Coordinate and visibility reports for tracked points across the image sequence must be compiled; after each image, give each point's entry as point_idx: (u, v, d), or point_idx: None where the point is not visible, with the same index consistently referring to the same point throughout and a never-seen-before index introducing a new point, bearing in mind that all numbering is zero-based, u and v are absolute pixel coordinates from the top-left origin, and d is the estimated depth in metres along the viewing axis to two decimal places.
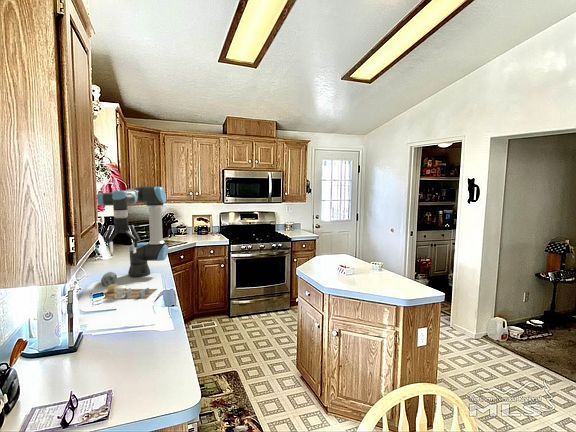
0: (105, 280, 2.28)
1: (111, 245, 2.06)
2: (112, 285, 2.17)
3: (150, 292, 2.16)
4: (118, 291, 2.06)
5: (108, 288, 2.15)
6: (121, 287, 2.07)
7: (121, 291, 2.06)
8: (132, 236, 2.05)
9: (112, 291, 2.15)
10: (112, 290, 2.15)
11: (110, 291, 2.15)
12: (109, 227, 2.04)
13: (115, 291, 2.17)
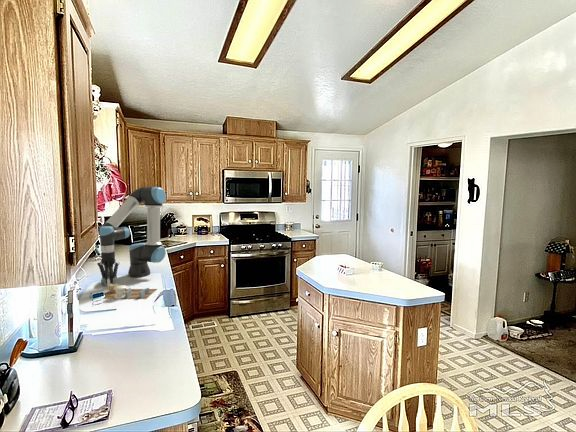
0: (105, 280, 2.28)
1: None
2: (114, 285, 2.17)
3: (150, 292, 2.16)
4: (118, 291, 2.06)
5: (110, 288, 2.15)
6: (121, 287, 2.07)
7: (121, 291, 2.06)
8: (111, 273, 2.16)
9: (114, 291, 2.15)
10: (114, 290, 2.15)
11: (112, 291, 2.15)
12: (98, 264, 2.15)
13: None
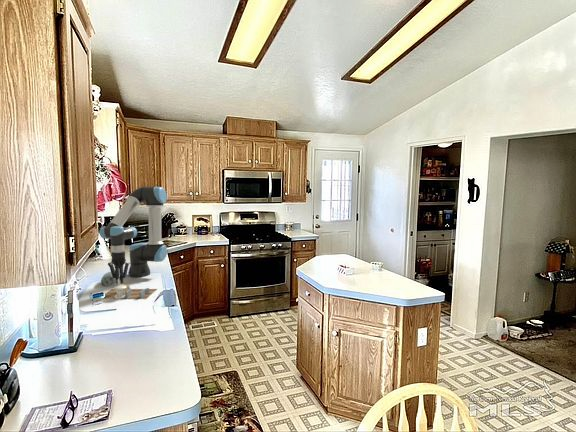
0: (105, 280, 2.28)
1: None
2: None
3: (150, 292, 2.16)
4: (118, 291, 2.06)
5: None
6: (121, 287, 2.07)
7: (121, 291, 2.06)
8: (122, 273, 2.16)
9: None
10: None
11: None
12: (108, 264, 2.15)
13: None
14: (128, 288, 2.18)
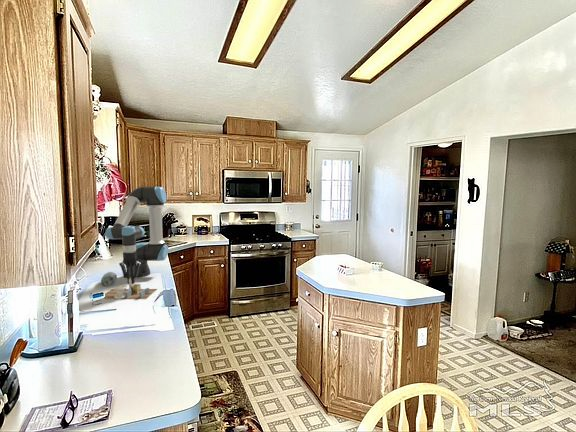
0: (105, 280, 2.28)
1: None
2: (135, 285, 2.17)
3: (150, 292, 2.16)
4: (118, 291, 2.06)
5: (131, 288, 2.15)
6: (121, 287, 2.07)
7: (121, 291, 2.06)
8: (133, 273, 2.16)
9: (135, 291, 2.15)
10: (135, 290, 2.15)
11: (133, 291, 2.15)
12: (120, 264, 2.14)
13: (138, 291, 2.17)
14: (139, 288, 2.18)
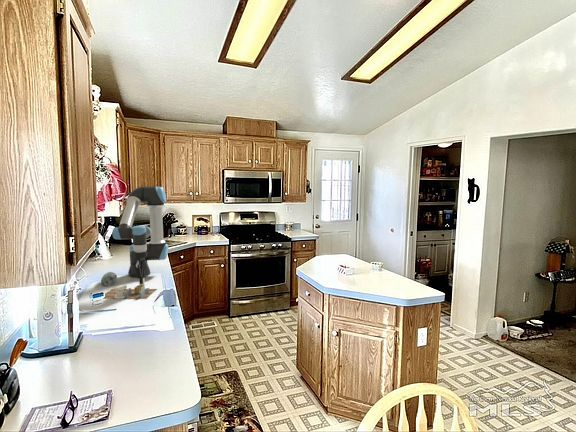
0: (105, 280, 2.28)
1: None
2: (139, 286, 2.15)
3: (150, 292, 2.16)
4: (118, 291, 2.06)
5: (135, 289, 2.13)
6: (121, 287, 2.07)
7: (121, 291, 2.06)
8: None
9: None
10: (139, 291, 2.13)
11: (137, 292, 2.13)
12: None
13: None
14: None
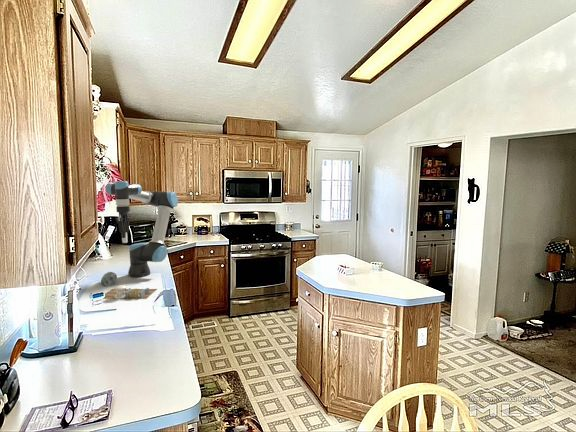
0: (105, 280, 2.28)
1: None
2: (134, 290, 2.08)
3: (150, 292, 2.16)
4: (118, 291, 2.06)
5: (130, 293, 2.06)
6: (121, 287, 2.07)
7: (121, 291, 2.06)
8: None
9: (134, 296, 2.06)
10: (135, 295, 2.06)
11: (132, 296, 2.06)
12: None
13: (137, 296, 2.08)
14: None
